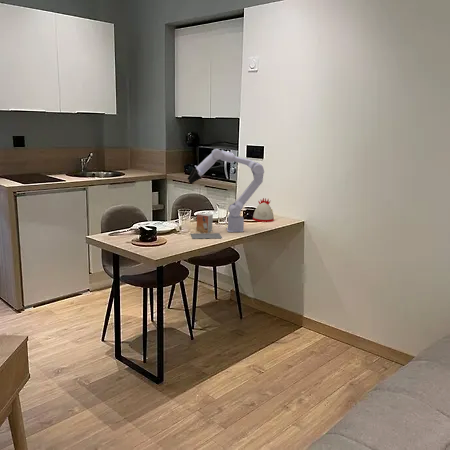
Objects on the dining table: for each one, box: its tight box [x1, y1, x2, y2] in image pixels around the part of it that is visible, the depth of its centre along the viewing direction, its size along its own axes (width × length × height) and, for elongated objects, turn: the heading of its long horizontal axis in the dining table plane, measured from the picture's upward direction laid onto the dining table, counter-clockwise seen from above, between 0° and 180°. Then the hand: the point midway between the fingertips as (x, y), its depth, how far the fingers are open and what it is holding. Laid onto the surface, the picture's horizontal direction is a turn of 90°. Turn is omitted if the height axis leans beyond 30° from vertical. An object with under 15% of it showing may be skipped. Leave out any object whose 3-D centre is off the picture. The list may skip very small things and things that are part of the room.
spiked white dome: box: [252, 197, 275, 223], centre depth 318 cm, size 14×14×15 cm
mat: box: [190, 232, 223, 240], centre depth 274 cm, size 17×10×1 cm, turn 100°
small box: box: [195, 212, 214, 233], centre depth 283 cm, size 8×6×10 cm
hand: (189, 181), depth 279 cm, fingers open, 7 cm apart
